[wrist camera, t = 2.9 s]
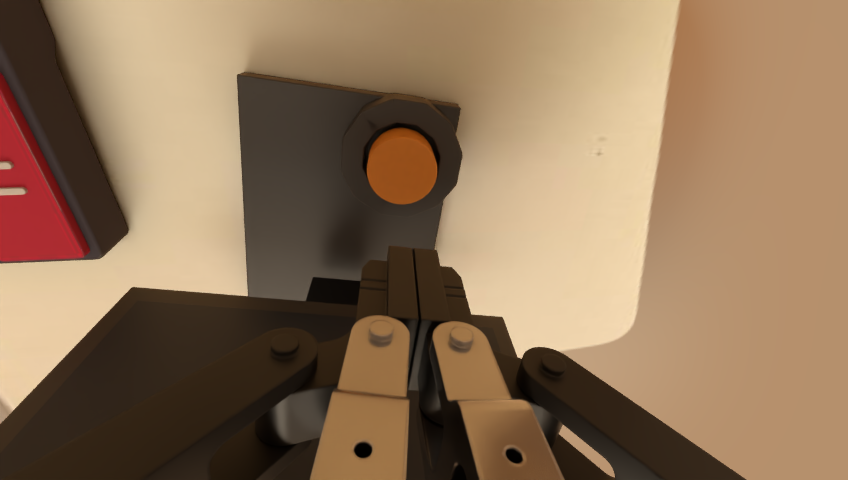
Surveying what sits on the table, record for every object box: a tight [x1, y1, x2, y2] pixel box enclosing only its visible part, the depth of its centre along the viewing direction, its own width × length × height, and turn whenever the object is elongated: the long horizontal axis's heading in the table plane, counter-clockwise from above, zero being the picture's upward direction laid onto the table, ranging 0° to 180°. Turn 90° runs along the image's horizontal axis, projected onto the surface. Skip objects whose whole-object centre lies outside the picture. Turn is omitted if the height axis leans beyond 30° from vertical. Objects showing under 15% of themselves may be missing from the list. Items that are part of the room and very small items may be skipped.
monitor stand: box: [306, 277, 361, 305], centre depth 22 cm, size 2×3×10 cm, turn 81°
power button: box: [367, 128, 437, 204], centre depth 22 cm, size 4×4×2 cm
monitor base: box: [237, 72, 462, 301], centre depth 26 cm, size 15×12×3 cm
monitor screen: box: [0, 287, 518, 480], centre depth 16 cm, size 2×18×12 cm, turn 81°
